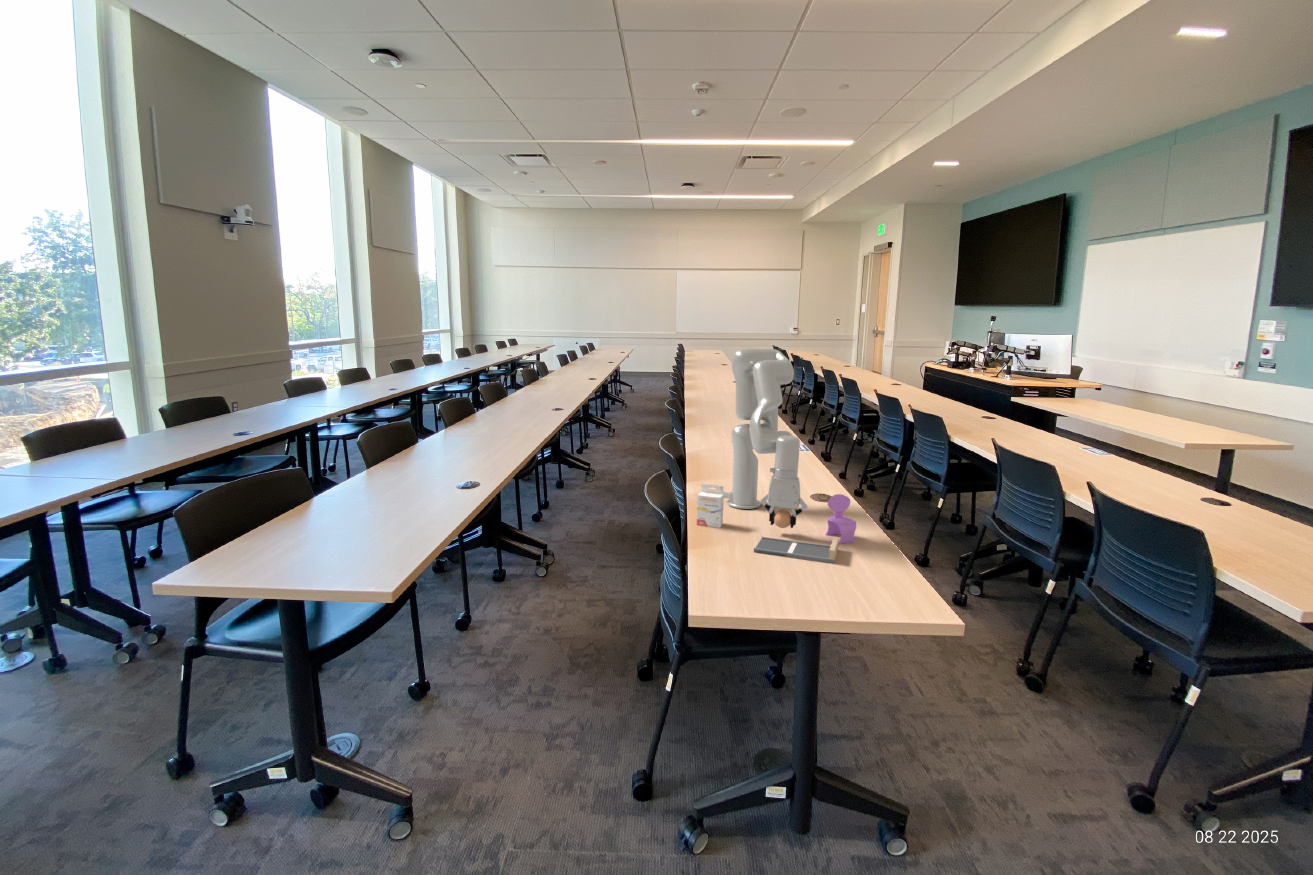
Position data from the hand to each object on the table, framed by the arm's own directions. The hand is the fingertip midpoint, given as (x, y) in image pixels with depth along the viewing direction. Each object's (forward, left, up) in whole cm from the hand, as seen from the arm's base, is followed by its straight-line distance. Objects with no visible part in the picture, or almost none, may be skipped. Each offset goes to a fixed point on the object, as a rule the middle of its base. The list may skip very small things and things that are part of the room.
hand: (782, 524), depth 200 cm
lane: (+7, -12, -4) cm, 15 cm away
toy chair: (+18, +4, -4) cm, 19 cm away
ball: (0, 0, -1) cm, 1 cm away
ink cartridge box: (-25, +1, -4) cm, 26 cm away
